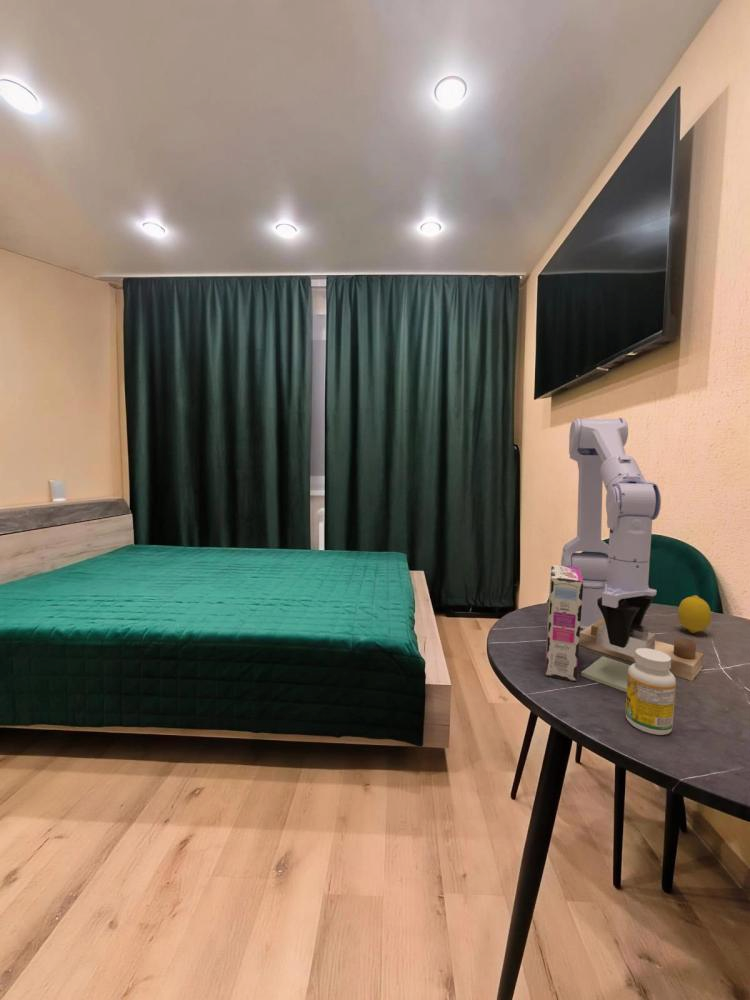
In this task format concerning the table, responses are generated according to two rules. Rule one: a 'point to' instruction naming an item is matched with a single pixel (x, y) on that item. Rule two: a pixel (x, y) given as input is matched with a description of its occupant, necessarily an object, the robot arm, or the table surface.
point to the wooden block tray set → (681, 653)
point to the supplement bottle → (651, 692)
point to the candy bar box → (564, 622)
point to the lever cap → (636, 640)
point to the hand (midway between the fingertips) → (623, 641)
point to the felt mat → (608, 673)
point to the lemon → (694, 614)
